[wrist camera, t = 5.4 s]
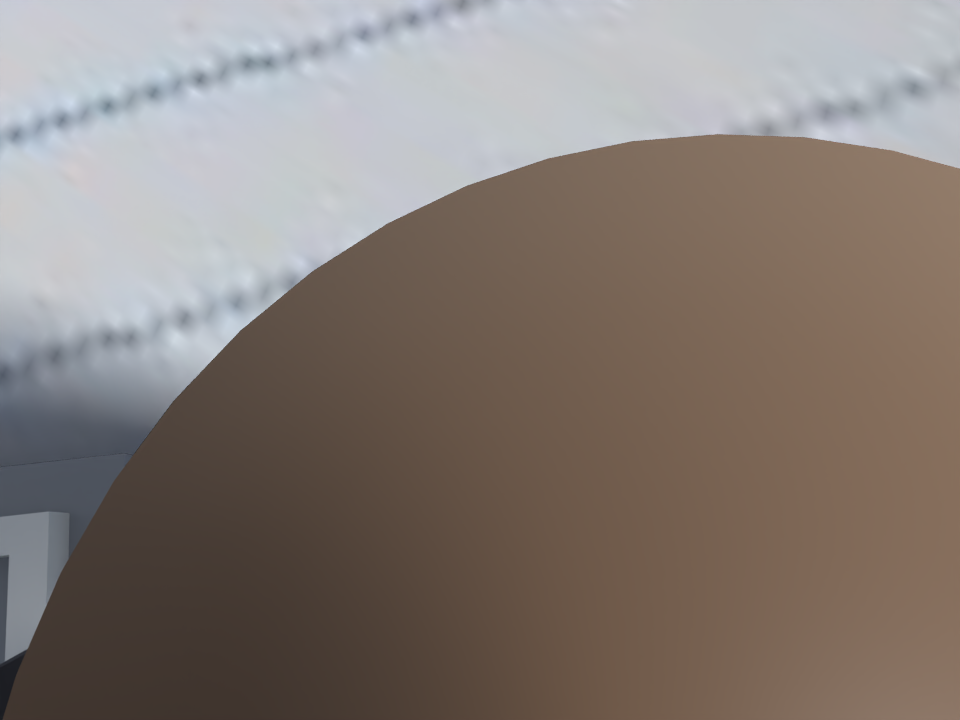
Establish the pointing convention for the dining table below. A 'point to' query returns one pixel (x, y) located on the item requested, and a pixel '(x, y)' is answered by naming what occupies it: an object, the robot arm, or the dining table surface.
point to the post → (559, 464)
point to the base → (43, 534)
